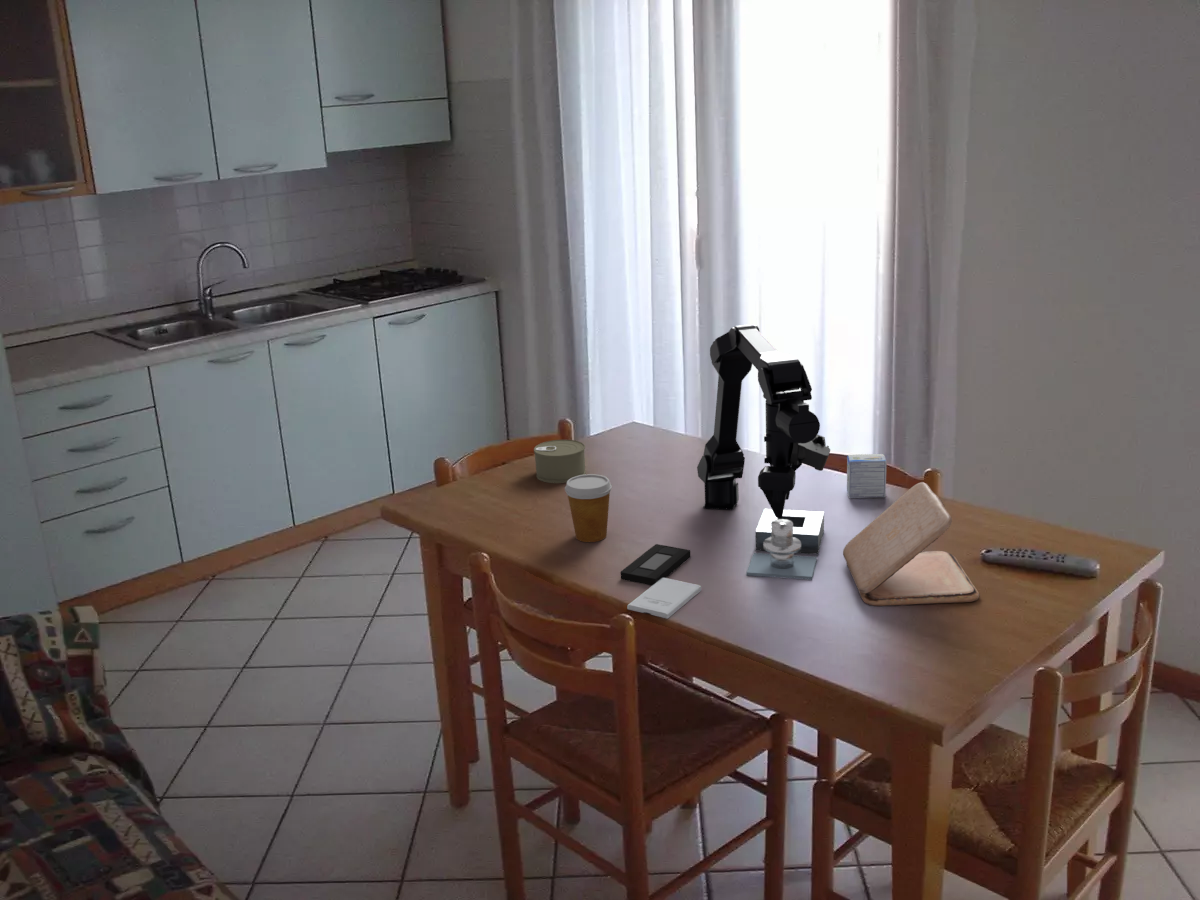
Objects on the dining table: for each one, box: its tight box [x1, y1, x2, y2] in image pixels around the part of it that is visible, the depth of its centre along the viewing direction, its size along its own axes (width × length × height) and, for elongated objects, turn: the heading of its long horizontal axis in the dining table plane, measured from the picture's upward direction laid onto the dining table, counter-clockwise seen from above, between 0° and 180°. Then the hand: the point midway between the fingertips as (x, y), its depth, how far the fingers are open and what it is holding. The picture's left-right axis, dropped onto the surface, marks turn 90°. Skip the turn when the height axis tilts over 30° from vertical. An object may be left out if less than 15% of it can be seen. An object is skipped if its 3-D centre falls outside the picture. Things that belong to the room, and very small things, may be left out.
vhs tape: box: [620, 543, 691, 587], centre depth 218 cm, size 8×14×2 cm, turn 149°
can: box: [533, 439, 586, 484], centre depth 270 cm, size 12×12×7 cm
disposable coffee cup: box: [564, 473, 613, 543], centre depth 232 cm, size 10×10×12 cm
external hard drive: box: [627, 577, 702, 620], centre depth 205 cm, size 2×8×12 cm
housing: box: [755, 508, 825, 555], centre depth 226 cm, size 12×12×4 cm
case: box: [842, 481, 980, 607], centre depth 204 cm, size 20×21×16 cm
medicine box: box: [846, 453, 888, 499], centre depth 246 cm, size 8×4×9 cm, turn 84°
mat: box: [746, 552, 818, 581], centre depth 215 cm, size 12×9×1 cm
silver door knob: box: [763, 519, 801, 569], centre depth 214 cm, size 7×7×8 cm
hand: (782, 508), depth 211 cm, fingers open, 9 cm apart
